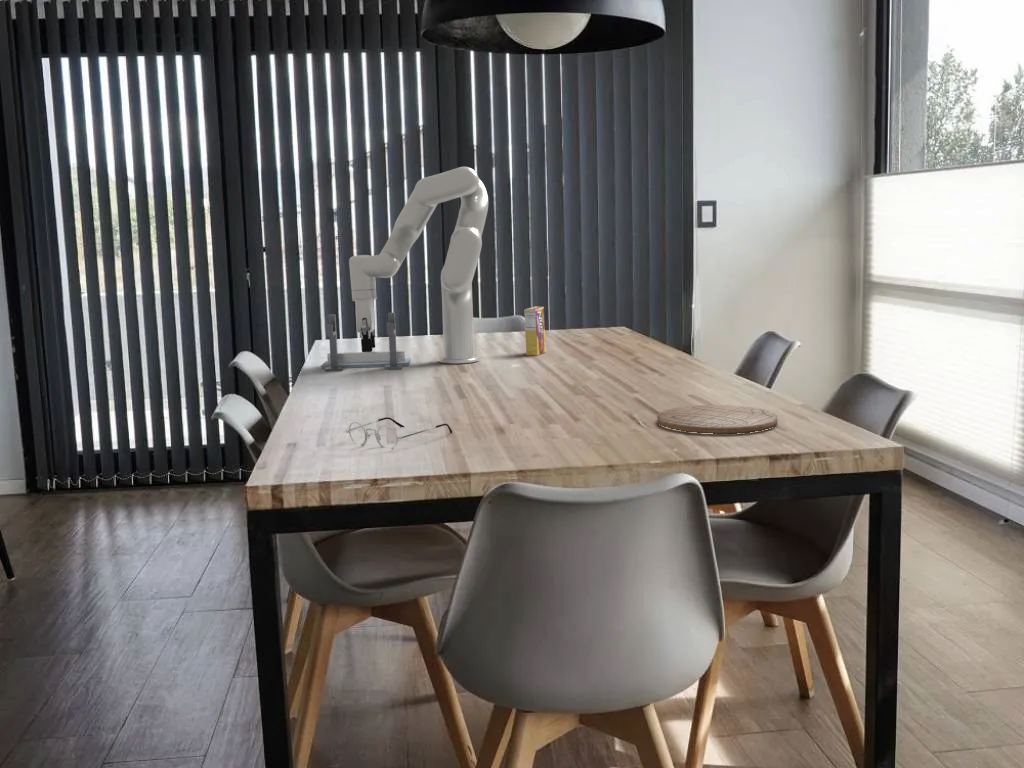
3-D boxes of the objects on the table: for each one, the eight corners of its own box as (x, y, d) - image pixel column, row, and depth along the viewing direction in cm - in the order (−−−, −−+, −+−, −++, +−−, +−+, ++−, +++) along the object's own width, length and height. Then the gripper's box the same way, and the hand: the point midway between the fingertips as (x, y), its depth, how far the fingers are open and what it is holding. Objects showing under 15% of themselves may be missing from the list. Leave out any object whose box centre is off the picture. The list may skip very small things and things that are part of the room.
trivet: (694, 409, 234) (694, 401, 234) (797, 420, 219) (797, 411, 218) (634, 428, 215) (634, 419, 215) (743, 442, 200) (743, 432, 199)
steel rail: (328, 362, 321) (328, 353, 321) (405, 359, 322) (404, 350, 322) (327, 363, 319) (327, 354, 318) (404, 361, 320) (404, 351, 319)
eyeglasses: (340, 445, 208) (338, 420, 207) (399, 428, 223) (398, 405, 222) (400, 453, 199) (399, 428, 198) (458, 435, 214) (457, 411, 213)
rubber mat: (326, 363, 326) (326, 360, 326) (411, 361, 327) (410, 358, 327) (321, 368, 315) (321, 365, 315) (409, 365, 316) (408, 362, 316)
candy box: (533, 352, 341) (532, 306, 338) (546, 352, 339) (545, 306, 337) (525, 355, 332) (523, 308, 330) (537, 355, 331) (536, 308, 328)
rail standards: (327, 368, 314) (324, 314, 312) (402, 366, 315) (399, 312, 313) (323, 373, 305) (319, 317, 302) (400, 371, 306) (397, 314, 303)
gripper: (355, 294, 326) (359, 347, 329) (348, 298, 309) (353, 354, 311) (378, 292, 326) (383, 345, 329) (373, 296, 309) (378, 352, 312)
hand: (368, 349), depth 320 cm, fingers open, 9 cm apart
